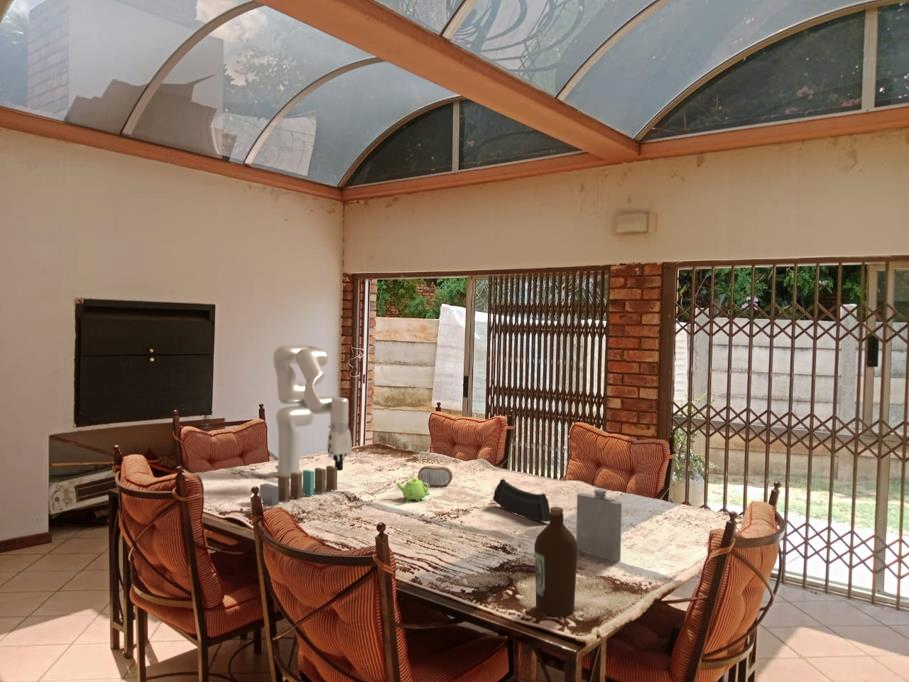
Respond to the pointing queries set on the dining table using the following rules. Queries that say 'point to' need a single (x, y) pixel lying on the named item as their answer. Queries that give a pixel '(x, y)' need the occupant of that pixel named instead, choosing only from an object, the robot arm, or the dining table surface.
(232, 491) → the dining table surface
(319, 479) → the domino
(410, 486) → the teapot
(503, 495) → the magazine
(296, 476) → the domino
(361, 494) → the dining table surface
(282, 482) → the domino
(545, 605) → the olive oil
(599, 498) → the hip flask
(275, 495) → the block
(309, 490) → the domino
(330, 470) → the domino
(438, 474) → the tin
